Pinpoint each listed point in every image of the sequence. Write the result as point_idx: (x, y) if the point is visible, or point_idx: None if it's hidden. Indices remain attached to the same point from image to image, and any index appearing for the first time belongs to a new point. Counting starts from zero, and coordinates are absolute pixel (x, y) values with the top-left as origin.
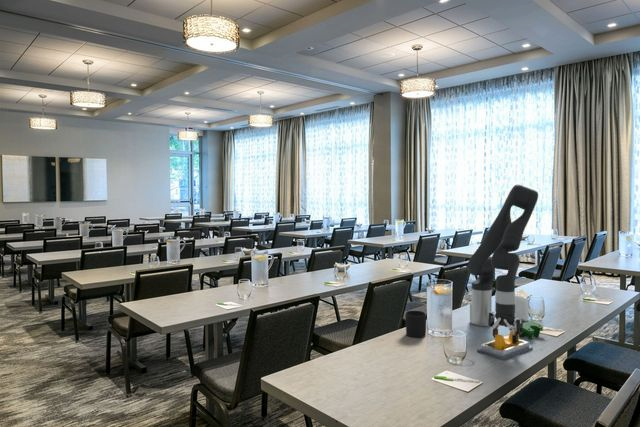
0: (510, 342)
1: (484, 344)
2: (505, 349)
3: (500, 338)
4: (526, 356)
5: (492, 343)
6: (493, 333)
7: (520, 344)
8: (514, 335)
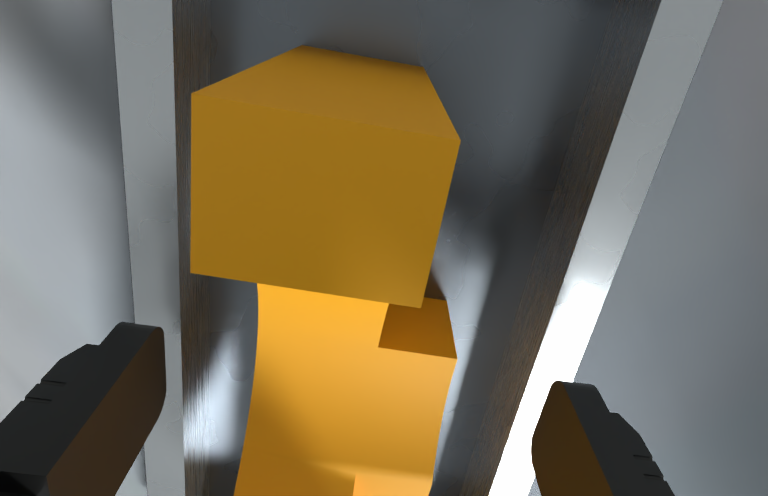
0: (276, 399)
1: (666, 11)
2: (155, 31)
3: (220, 86)
4: (49, 271)
5: (556, 260)
6: (635, 463)
7: (163, 445)
8: (1, 476)
